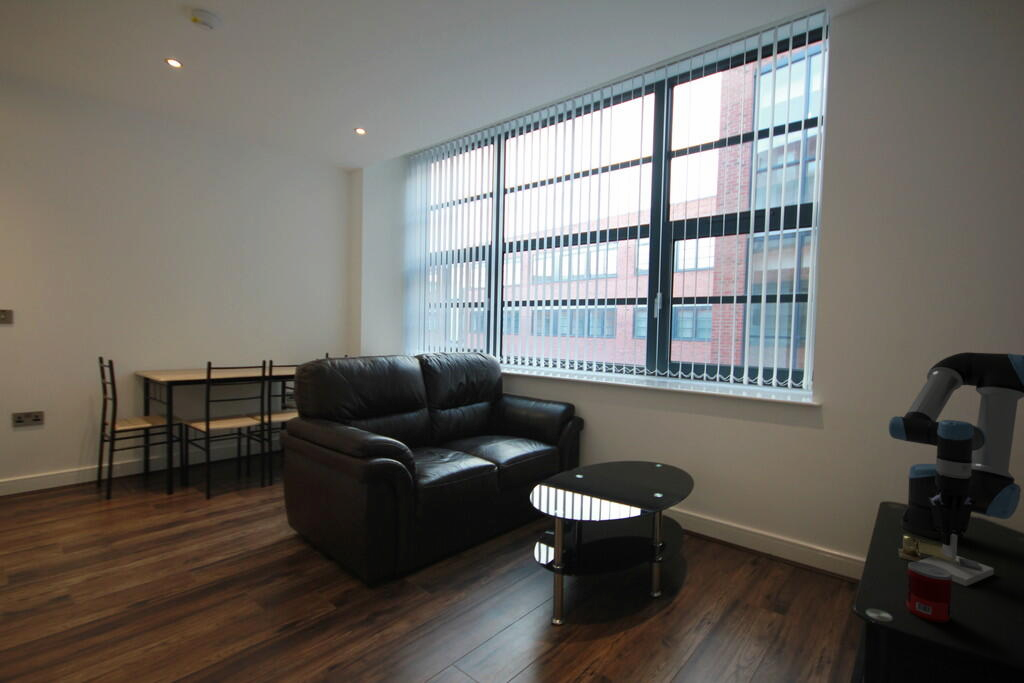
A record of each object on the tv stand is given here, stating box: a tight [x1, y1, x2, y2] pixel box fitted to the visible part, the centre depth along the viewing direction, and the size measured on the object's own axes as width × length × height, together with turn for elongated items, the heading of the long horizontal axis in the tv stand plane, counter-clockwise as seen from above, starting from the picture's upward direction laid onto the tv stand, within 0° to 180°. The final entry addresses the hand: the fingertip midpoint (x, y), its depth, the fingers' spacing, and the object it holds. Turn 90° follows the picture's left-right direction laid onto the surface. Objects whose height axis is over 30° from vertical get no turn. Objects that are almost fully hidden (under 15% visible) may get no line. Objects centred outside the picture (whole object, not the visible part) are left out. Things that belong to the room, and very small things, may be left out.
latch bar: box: [902, 534, 956, 561], centre depth 142 cm, size 12×4×5 cm, turn 53°
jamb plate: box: [898, 548, 923, 562], centre depth 145 cm, size 5×5×1 cm
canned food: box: [906, 561, 953, 624], centre depth 115 cm, size 8×8×11 cm
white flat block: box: [918, 555, 995, 587], centre depth 137 cm, size 16×11×3 cm
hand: (949, 555), depth 137 cm, fingers closed
